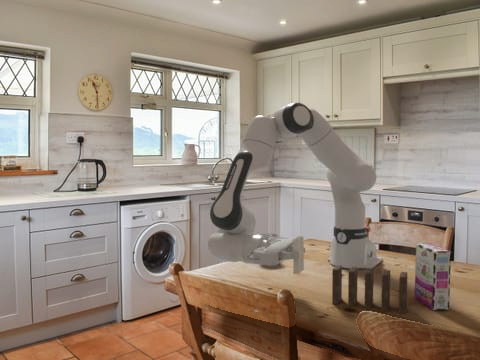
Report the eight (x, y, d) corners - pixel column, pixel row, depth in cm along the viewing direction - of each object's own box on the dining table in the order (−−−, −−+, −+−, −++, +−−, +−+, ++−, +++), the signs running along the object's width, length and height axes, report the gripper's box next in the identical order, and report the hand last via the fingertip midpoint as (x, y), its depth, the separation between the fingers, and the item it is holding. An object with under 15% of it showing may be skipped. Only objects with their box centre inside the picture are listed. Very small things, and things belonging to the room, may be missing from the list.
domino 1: (332, 303, 129) (332, 269, 129) (336, 298, 134) (336, 265, 133) (337, 304, 129) (338, 270, 128) (341, 299, 133) (341, 265, 132)
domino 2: (348, 305, 128) (348, 271, 127) (351, 300, 132) (352, 266, 131) (353, 306, 127) (354, 271, 126) (357, 301, 131) (357, 267, 131)
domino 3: (364, 308, 126) (364, 272, 125) (367, 302, 130) (367, 268, 129) (370, 309, 125) (370, 273, 124) (373, 303, 130) (373, 268, 129)
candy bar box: (450, 310, 123) (452, 251, 122) (433, 311, 123) (434, 251, 122) (430, 297, 134) (431, 242, 133) (413, 297, 134) (414, 242, 133)
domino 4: (381, 310, 124) (382, 274, 123) (383, 304, 128) (384, 270, 128) (387, 311, 123) (388, 275, 122) (389, 305, 128) (390, 270, 127)
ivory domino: (293, 273, 132) (293, 239, 131) (298, 269, 136) (298, 236, 136) (298, 274, 131) (298, 240, 130) (303, 269, 136) (303, 236, 135)
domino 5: (398, 312, 122) (399, 276, 121) (400, 306, 126) (401, 271, 126) (405, 313, 121) (405, 277, 120) (406, 307, 126) (407, 272, 125)
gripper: (243, 247, 129) (290, 250, 123) (269, 233, 148) (310, 235, 142) (244, 268, 130) (290, 273, 124) (269, 252, 148) (310, 255, 142)
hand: (301, 253), depth 133 cm, fingers closed on ivory domino, 5 cm apart
